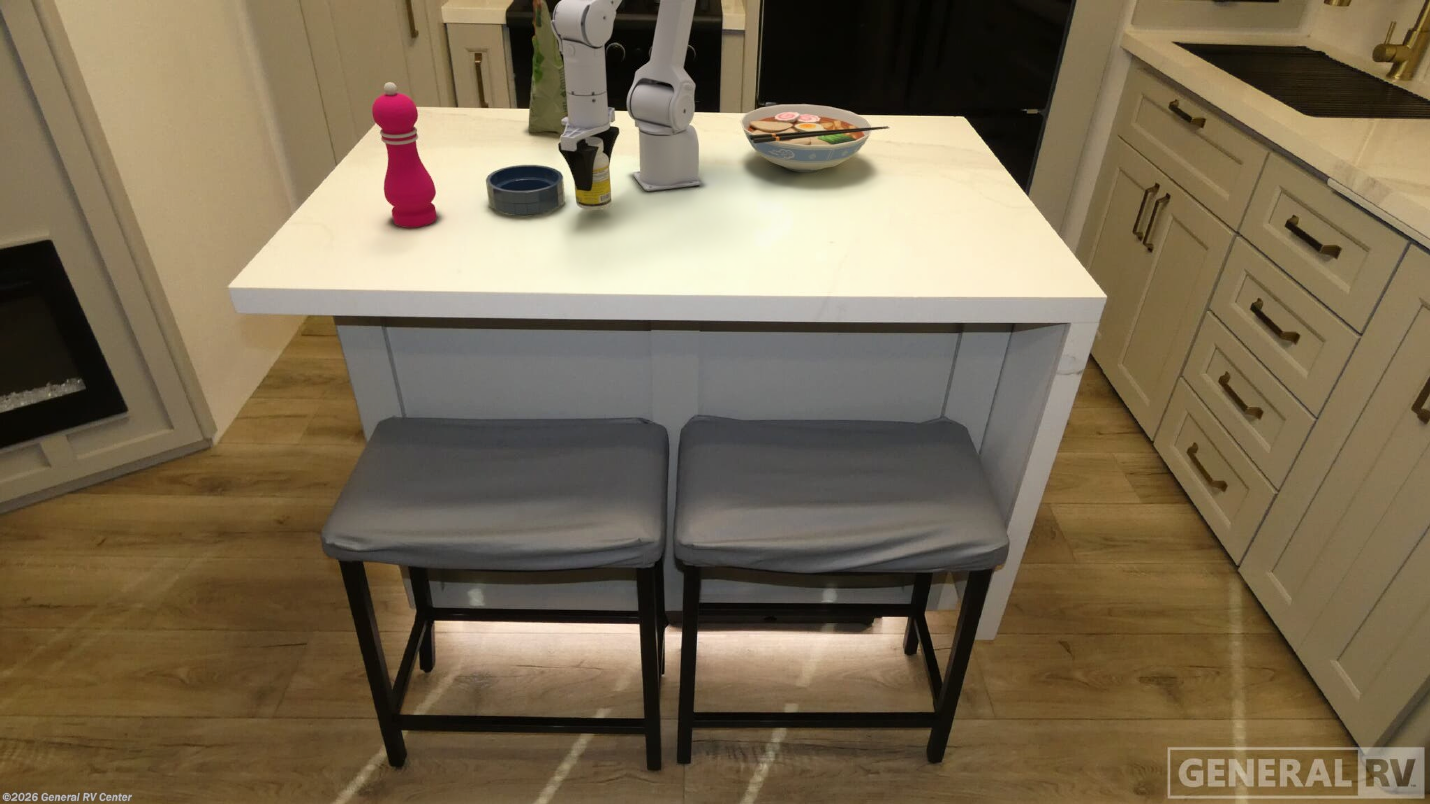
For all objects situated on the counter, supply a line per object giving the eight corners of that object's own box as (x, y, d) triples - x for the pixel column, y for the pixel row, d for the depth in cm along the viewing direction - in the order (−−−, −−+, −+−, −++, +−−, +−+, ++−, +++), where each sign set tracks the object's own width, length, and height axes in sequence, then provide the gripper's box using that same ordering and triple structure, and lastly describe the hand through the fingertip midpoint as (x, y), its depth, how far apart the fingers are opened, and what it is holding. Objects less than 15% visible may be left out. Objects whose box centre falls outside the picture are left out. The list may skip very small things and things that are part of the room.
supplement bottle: (576, 197, 134) (571, 134, 128) (611, 197, 134) (608, 134, 129) (575, 211, 130) (570, 147, 124) (611, 210, 130) (607, 146, 124)
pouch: (557, 144, 158) (544, -4, 144) (509, 131, 163) (492, -13, 149) (596, 129, 166) (588, -14, 151) (549, 117, 171) (537, -22, 157)
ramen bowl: (839, 138, 164) (844, 94, 160) (896, 181, 147) (903, 133, 142) (715, 150, 158) (716, 104, 153) (759, 196, 140) (762, 146, 135)
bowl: (556, 186, 142) (554, 161, 139) (572, 213, 133) (569, 187, 130) (484, 194, 138) (481, 168, 136) (495, 222, 129) (492, 195, 127)
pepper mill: (449, 213, 132) (427, 78, 120) (421, 232, 126) (395, 92, 114) (409, 206, 134) (383, 72, 122) (380, 224, 128) (349, 86, 116)
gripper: (582, 74, 129) (588, 163, 137) (537, 101, 117) (546, 196, 125) (626, 79, 127) (629, 168, 135) (584, 107, 116) (591, 203, 124)
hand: (592, 182), depth 130 cm, fingers closed on supplement bottle, 5 cm apart
